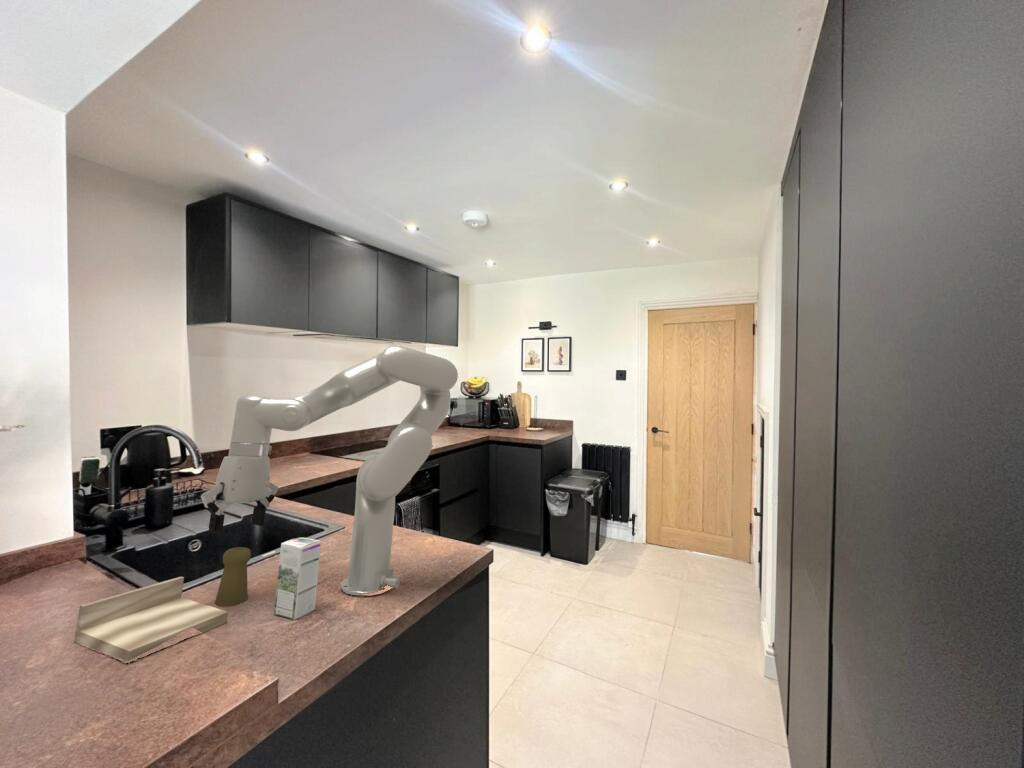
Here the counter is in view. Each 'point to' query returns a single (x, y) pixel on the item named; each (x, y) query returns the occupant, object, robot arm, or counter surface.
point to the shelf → (142, 619)
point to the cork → (234, 578)
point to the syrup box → (297, 577)
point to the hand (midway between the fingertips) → (237, 528)
